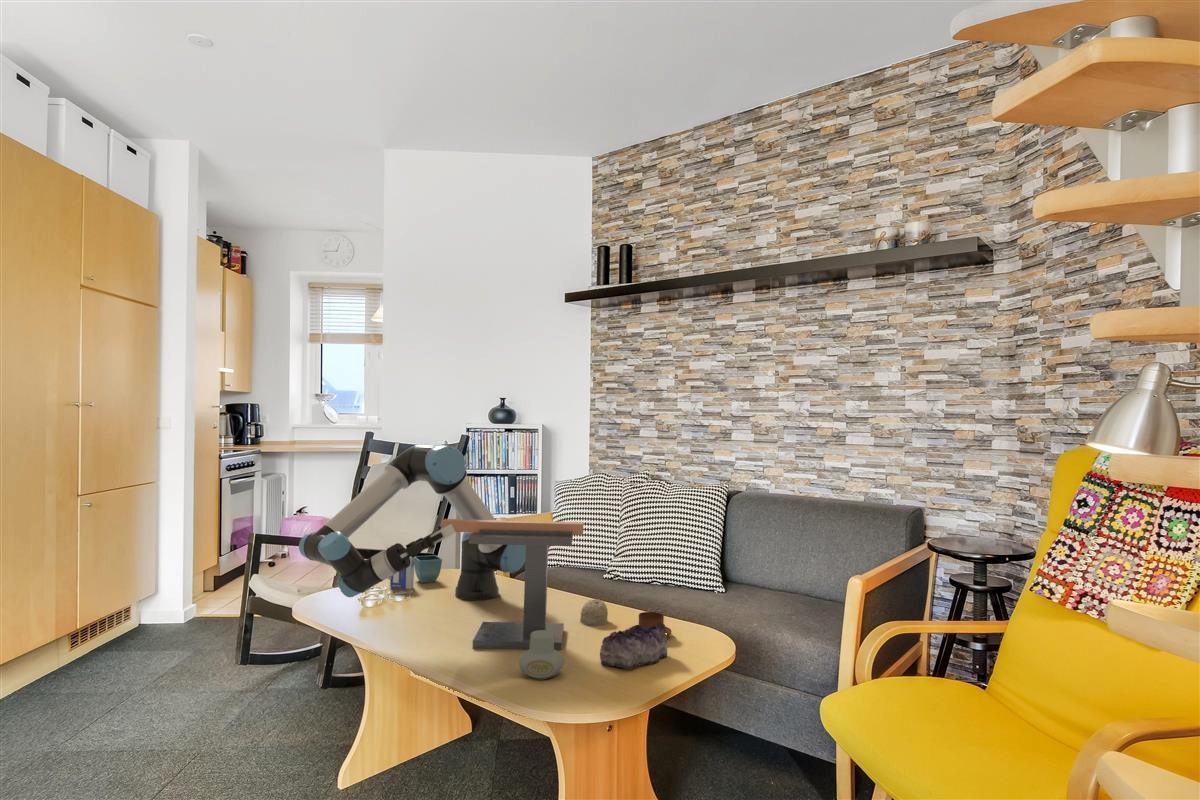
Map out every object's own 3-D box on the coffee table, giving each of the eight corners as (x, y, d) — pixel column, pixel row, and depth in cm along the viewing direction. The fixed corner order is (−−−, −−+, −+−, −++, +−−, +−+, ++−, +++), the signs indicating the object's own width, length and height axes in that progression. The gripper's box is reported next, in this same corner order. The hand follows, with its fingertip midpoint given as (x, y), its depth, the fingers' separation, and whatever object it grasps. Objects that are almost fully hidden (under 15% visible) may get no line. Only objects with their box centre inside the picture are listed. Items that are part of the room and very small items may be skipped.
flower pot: (441, 582, 257) (442, 558, 258) (418, 584, 253) (419, 560, 253) (435, 578, 265) (435, 554, 265) (412, 580, 260) (413, 556, 261)
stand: (465, 648, 183) (469, 532, 184) (475, 628, 201) (479, 523, 202) (568, 650, 184) (571, 535, 185) (570, 630, 202) (573, 525, 203)
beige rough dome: (608, 635, 210) (615, 606, 215) (598, 624, 204) (606, 595, 209) (583, 630, 214) (591, 602, 219) (573, 620, 207) (581, 591, 212)
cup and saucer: (678, 635, 200) (679, 614, 200) (658, 645, 190) (659, 623, 190) (643, 627, 207) (644, 607, 207) (622, 637, 197) (623, 615, 197)
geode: (644, 647, 189) (650, 612, 188) (675, 664, 180) (681, 627, 180) (590, 659, 175) (595, 621, 175) (620, 679, 167) (626, 639, 166)
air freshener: (564, 669, 169) (565, 628, 170) (562, 681, 161) (563, 639, 162) (520, 668, 169) (521, 627, 170) (516, 680, 161) (517, 638, 162)
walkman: (389, 588, 246) (391, 555, 247) (392, 586, 249) (394, 553, 250) (411, 589, 246) (412, 556, 246) (413, 587, 248) (414, 554, 249)
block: (441, 531, 191) (441, 520, 191) (444, 529, 195) (444, 519, 195) (583, 534, 192) (583, 524, 192) (583, 532, 196) (583, 522, 196)
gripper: (409, 563, 205) (471, 529, 205) (385, 582, 180) (455, 543, 180) (398, 541, 205) (460, 507, 206) (371, 557, 180) (442, 519, 181)
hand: (458, 524), depth 193 cm, fingers open, 13 cm apart
